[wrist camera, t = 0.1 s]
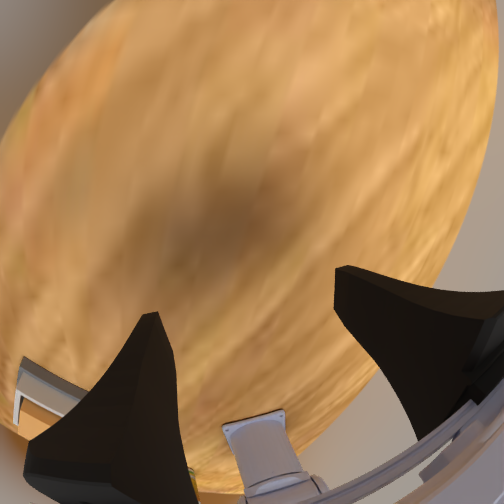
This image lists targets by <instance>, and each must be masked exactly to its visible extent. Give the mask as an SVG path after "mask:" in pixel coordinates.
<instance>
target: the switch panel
mask: <svg viewBox="0 0 504 504" xmlns="http://www.w3.org/2000/svg"><path fill="white" fill-rule="evenodd" d="M87 393H88V392H87V391H85V390H83V389H81V388H79V387H77V386H75V385H73V384H71V383H69V382H67V381H65V380H63V379H62V378H60V377H58V376H56V375H54V374H52V373H51V372H49V371H47V370H45V369H44V368H42V367H40V366H39V365H37V364H35V363H34V362H32V361H31V360H29V359H27V358H26V357H24V358H23V360H22V362H21V364H20V367H19V373H18V379H17V387H16V393H15V403H14V416H13V423H14V424H16V425H17V426H19V416H20V409H21V406H22V403H23V400H24V397H25V398H27V399H29V400H31V401H32V402H34V403H36V404H38V405H39V406H41V407H43V408H45V409H47V410H49V411H51V412H53V413H55V414H57V415H59V416H61V417H63V416H65V415H66V414H67V413H68V412H69V411H70V410H71V409H73V408H74V407H75V406H76V405H77V404H78V403H79V402H80V401H81V400H82V399H83V398H84V397H85V395H86V394H87Z"/></svg>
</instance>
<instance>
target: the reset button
mask: <svg viewBox="0 0 504 504" xmlns="http://www.w3.org/2000/svg"><path fill="white" fill-rule="evenodd" d="M61 418H62V417H61V416H59V415H57V414H55V413H53V412H51V411H49V410H47V409H45V408H43V407H41V406H39V405H38V404H36V403H34V402H32V401H31V400H29V399H27V398H25V397H24V400H23V403H22V406H21V409H20V416H19V426H18V434H19V435H21V436H23V437H24V438H26V439H28V440H32V439H33V438H35V437H36V436H38V435H39V434H41V433H42V432H44V431H45V430H47V429H48V428H49V427H51V426H52V425H53V424H55V423H56V422H57V421H59V420H60V419H61Z"/></svg>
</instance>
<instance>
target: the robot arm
mask: <svg viewBox="0 0 504 504" xmlns="http://www.w3.org/2000/svg"><path fill="white" fill-rule="evenodd" d="M334 310H335V312H336V313H337V315H338V317H339V318H340V320H341V321H342V323H343V324H344V326H345V327H346V328H347V330H348V331H349V332H350V333H351V334H352V335H353V337H354V338H355V339H356V340H357V341H358V342H359V343H360V345H361V346H362V347H363V348H364V349H365V350H366V351H367V353H368V354H369V355H370V356H371V357H372V358H373V360H374V361H375V362H376V363H377V365H378V366H379V367H380V369H381V370H382V372H383V373H384V375H385V376H386V378H387V380H388V381H389V382H390V384H391V386H392V388H393V389H394V391H395V392H396V394H397V396H398V398H399V400H400V401H401V404H402V406H403V408H404V410H405V412H406V414H407V416H408V418H409V420H410V422H411V425H412V427H413V429H414V432H415V434H416V437H417V439H418V442H417V443H416V444H414V445H413V446H411V447H410V448H408V449H407V450H405V451H404V452H402V453H401V454H399V455H397V456H396V457H394V458H392V459H391V460H389V461H388V462H386V463H384V464H382V465H381V466H379V467H377V468H375V469H373V470H372V471H370V472H368V473H366V474H364V475H362V476H360V477H358V478H356V479H354V480H352V481H350V482H348V483H346V484H343V485H341V486H339V487H337V488H335V489H333V490H329V488H328V486H327V485H326V483H325V482H324V480H323V479H322V478H321V477H318V476H316V475H311V476H309V474H308V472H307V471H303V469H302V467H301V464H300V462H299V461H298V458H297V456H296V454H295V452H294V450H293V447H292V445H291V443H290V441H289V439H288V436H287V434H286V432H285V412H284V410H279V411H275V412H272V413H269V414H265V415H262V416H258V417H254V418H250V419H247V420H243V421H238V422H234V423H230V424H225V425H223V426H222V430H223V432H224V435H225V437H226V439H227V442H228V444H229V446H230V448H231V451H232V453H233V454H234V455H235V459H236V462H237V465H238V468H239V472H240V475H241V478H242V481H243V484H244V487H245V489H244V492H245V495H246V496H245V495H243V496H240V499H239V500H238V501H237V504H352V503H354V502H356V501H358V500H361V499H362V498H364V497H366V496H368V495H370V494H372V493H374V492H376V491H377V490H379V489H381V488H383V487H384V486H386V485H388V484H390V483H391V482H393V481H394V480H396V479H398V478H399V477H401V476H402V475H404V474H405V473H407V472H409V471H410V470H411V469H413V468H414V467H416V466H417V465H419V464H420V463H421V462H423V461H424V460H425V459H427V458H428V457H430V456H431V455H432V454H433V453H435V452H436V451H437V450H439V449H440V448H441V447H442V446H443V445H445V444H446V443H447V442H448V441H450V440H451V439H452V438H453V439H452V443H451V444H450V445H449V446H447V447H446V448H445V449H444V450H443V451H442V452H441V453H440V454H439V455H438V456H437V457H436V459H434V460H433V461H432V462H431V463H430V464H429V465H428V466H427V467H426V468H424V469H423V470H422V471H421V472H420V473H419V476H420V477H421V479H422V480H423V482H424V484H423V485H421V486H420V487H418V488H417V489H416V490H414V491H413V492H412V493H410V494H408V495H407V496H405V497H404V498H402V499H401V500H399V501H397V502H396V503H395V504H504V290H502V291H491V292H458V291H447V290H440V289H434V288H429V287H424V286H419V285H415V284H411V283H407V282H404V281H400V280H397V279H394V278H390V277H387V276H384V275H381V274H378V273H375V272H371V271H368V270H365V269H362V268H358V267H354V266H350V265H346V266H342V267H339V268H335V291H334ZM23 477H24V478H25V480H26V482H28V484H29V485H31V486H32V487H33V488H35V489H36V490H38V491H39V492H41V493H43V494H44V495H46V496H48V497H50V498H51V499H53V500H55V501H57V502H58V503H60V504H199V502H198V499H197V496H196V494H195V490H194V487H193V484H192V481H191V477H190V474H189V470H188V466H187V462H186V458H185V454H184V450H183V445H182V440H181V435H180V429H179V421H178V404H177V379H176V368H175V361H174V355H173V350H172V348H171V345H170V342H169V340H168V337H167V335H166V332H165V330H164V327H163V324H162V322H161V319H160V316H159V313H158V311H157V312H152V313H147V314H143V315H142V316H141V318H140V320H139V321H138V323H137V324H136V326H135V328H134V330H133V331H132V333H131V335H130V336H129V338H128V340H127V341H126V343H125V344H124V346H123V348H122V349H121V351H120V352H119V354H118V355H117V357H116V358H115V360H114V361H113V363H112V364H111V365H110V367H109V368H108V370H107V371H106V372H105V374H104V375H103V376H102V377H101V379H100V380H99V381H98V382H97V383H96V385H95V386H94V387H93V388H92V389H91V390H90V391H89V392H88V393H87V394H86V395H85V397H84V398H83V399H82V400H81V401H80V402H79V403H78V404H77V405H76V406H75V407H74V408H73V409H71V410H70V411H69V412H68V413H67V414H66V415H65V416H63V417H62V418H61V419H60V420H59V421H57V422H56V423H55V424H53V425H52V426H51V427H49V428H48V429H47V430H45V431H44V432H42V433H41V434H39V435H38V436H36V437H35V438H33V439H32V440H30V441H29V443H28V449H27V453H26V459H25V465H24V472H23ZM29 504H34V503H29Z"/></svg>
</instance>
